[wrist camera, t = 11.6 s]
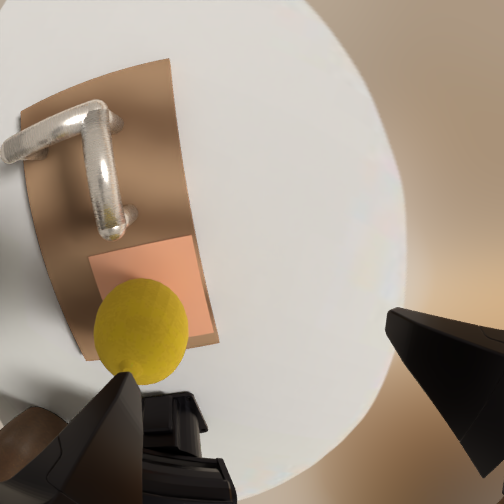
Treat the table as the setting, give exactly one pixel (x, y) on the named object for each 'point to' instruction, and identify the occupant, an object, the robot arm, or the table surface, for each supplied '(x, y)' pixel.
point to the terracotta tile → (159, 274)
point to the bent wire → (95, 157)
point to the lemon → (141, 330)
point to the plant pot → (26, 439)
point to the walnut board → (130, 185)
